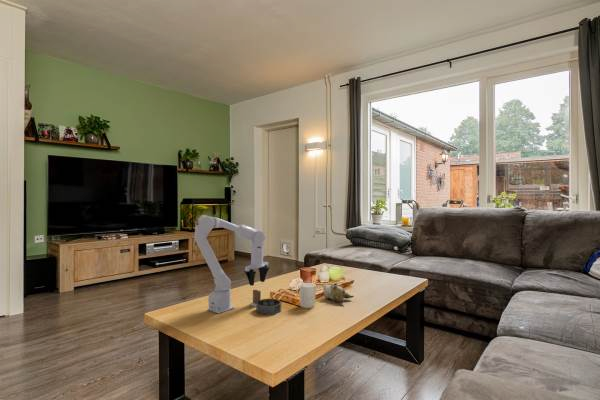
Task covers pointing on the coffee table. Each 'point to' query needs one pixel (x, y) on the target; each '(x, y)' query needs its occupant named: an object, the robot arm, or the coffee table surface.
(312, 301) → the white cup
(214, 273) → the robot arm
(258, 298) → the wood wick
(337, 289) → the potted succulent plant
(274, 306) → the candle tin
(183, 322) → the coffee table surface
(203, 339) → the coffee table surface
